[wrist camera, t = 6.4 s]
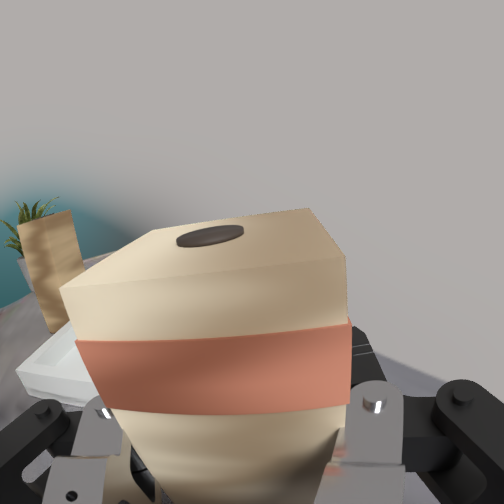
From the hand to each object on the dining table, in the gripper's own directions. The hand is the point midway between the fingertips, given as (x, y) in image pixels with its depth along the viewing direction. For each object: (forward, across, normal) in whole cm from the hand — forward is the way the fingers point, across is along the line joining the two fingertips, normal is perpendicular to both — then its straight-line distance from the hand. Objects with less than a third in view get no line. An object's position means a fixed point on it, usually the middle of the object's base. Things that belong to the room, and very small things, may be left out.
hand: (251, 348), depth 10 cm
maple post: (-3, 0, +6) cm, 7 cm away
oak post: (+15, +22, +6) cm, 28 cm away
